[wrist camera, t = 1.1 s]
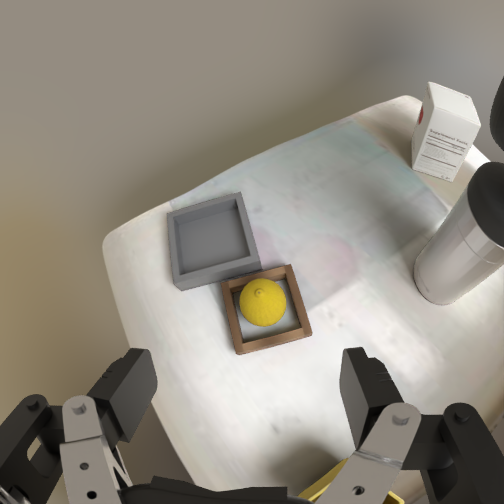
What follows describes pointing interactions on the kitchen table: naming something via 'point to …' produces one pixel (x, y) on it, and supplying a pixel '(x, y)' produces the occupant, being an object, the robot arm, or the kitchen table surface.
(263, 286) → the lemon
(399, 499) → the flower pot
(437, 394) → the kitchen table surface
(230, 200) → the charcoal tray
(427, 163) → the supplement box
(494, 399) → the kitchen table surface
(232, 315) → the wooden square frame
